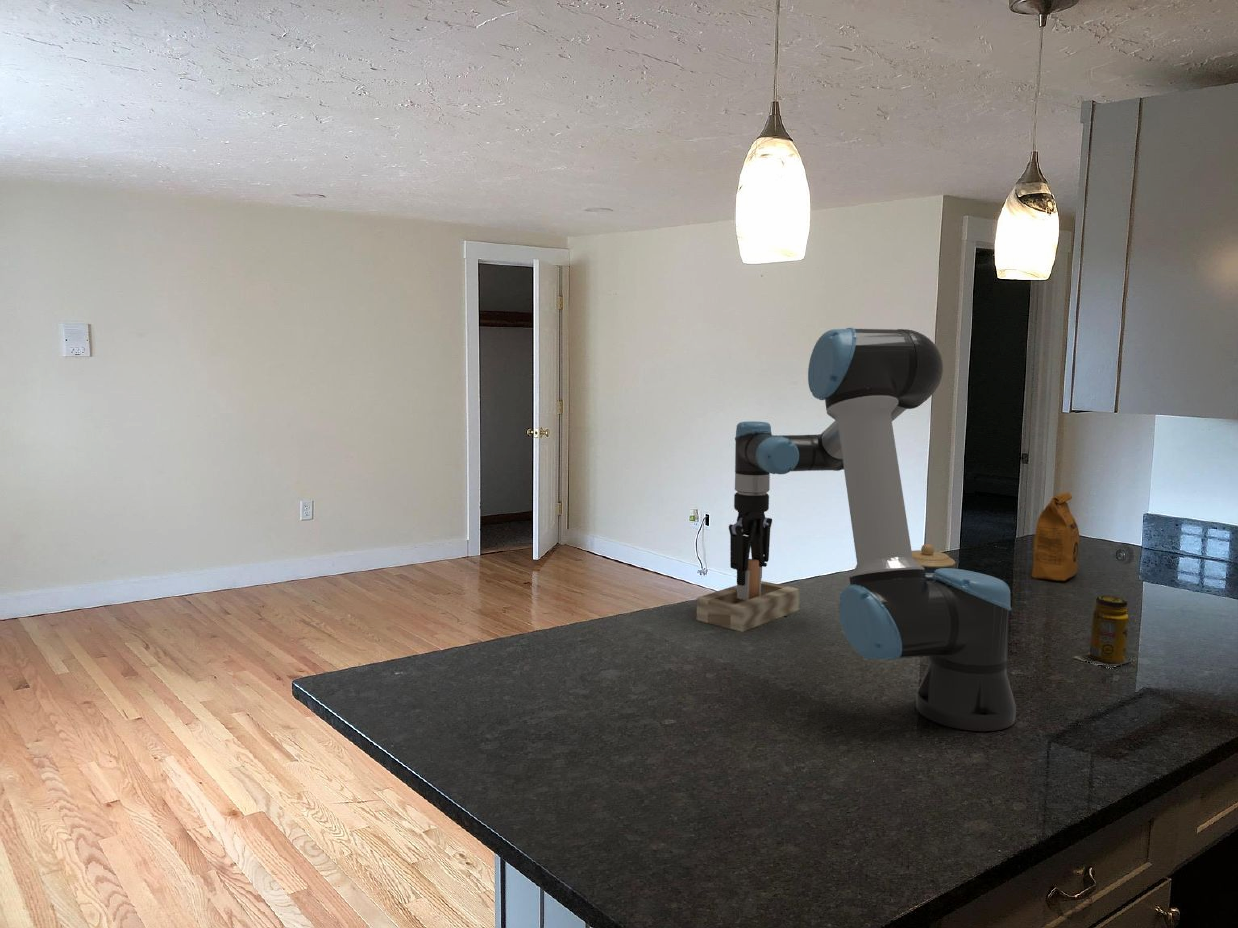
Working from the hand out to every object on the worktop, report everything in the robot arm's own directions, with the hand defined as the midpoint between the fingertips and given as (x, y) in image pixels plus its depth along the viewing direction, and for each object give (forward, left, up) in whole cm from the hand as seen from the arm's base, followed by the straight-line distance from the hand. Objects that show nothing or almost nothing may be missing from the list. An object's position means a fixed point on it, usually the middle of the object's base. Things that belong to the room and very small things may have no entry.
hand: (748, 596), depth 201 cm
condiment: (+23, -66, -4) cm, 70 cm away
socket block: (0, 0, -4) cm, 4 cm away
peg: (0, 0, -4) cm, 4 cm away
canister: (+21, -31, -4) cm, 38 cm away
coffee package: (+84, -38, -4) cm, 92 cm away
